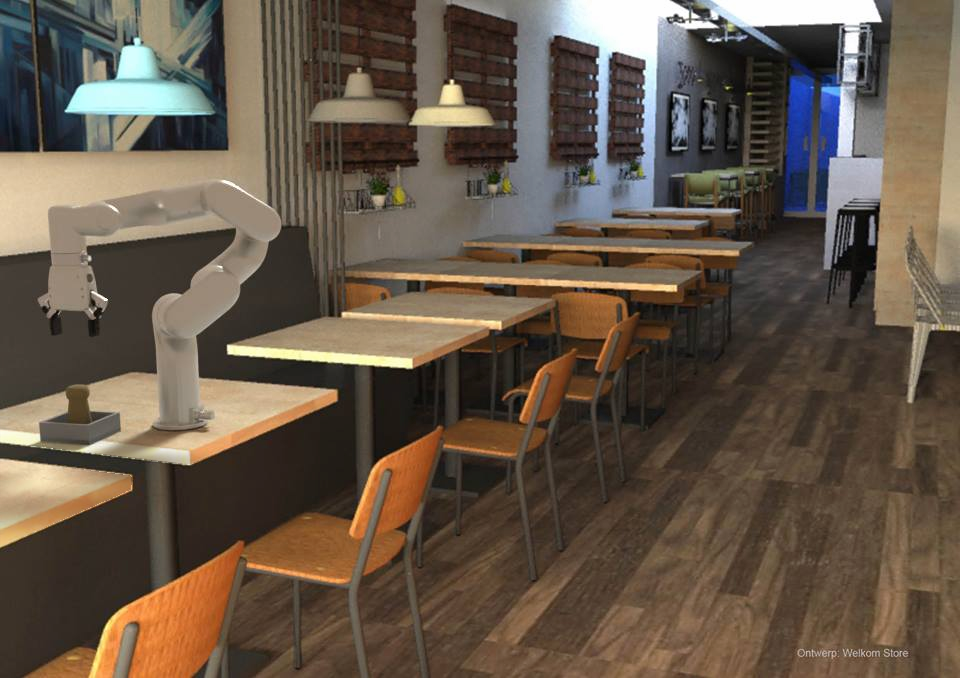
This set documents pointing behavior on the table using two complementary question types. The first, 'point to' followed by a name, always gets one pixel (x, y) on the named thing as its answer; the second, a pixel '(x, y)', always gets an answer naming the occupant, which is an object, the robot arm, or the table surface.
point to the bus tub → (80, 428)
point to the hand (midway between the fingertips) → (75, 335)
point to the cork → (78, 404)
